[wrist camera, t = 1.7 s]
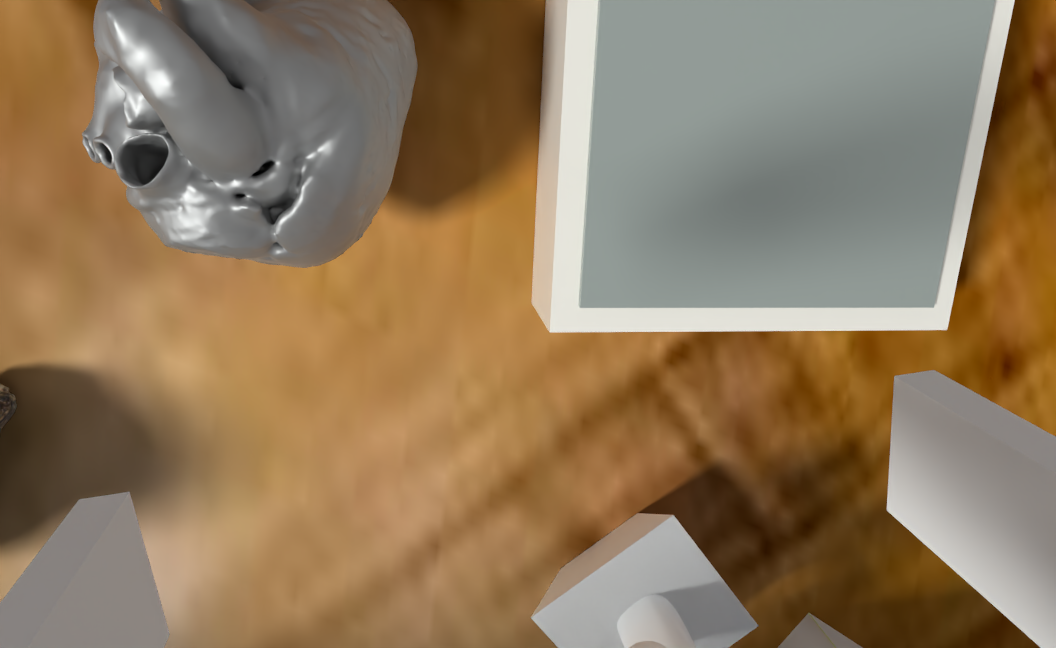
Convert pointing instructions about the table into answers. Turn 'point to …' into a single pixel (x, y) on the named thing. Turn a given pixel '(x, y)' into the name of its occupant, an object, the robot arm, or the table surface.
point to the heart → (253, 120)
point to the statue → (6, 405)
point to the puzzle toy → (816, 636)
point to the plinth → (760, 161)
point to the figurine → (642, 593)
